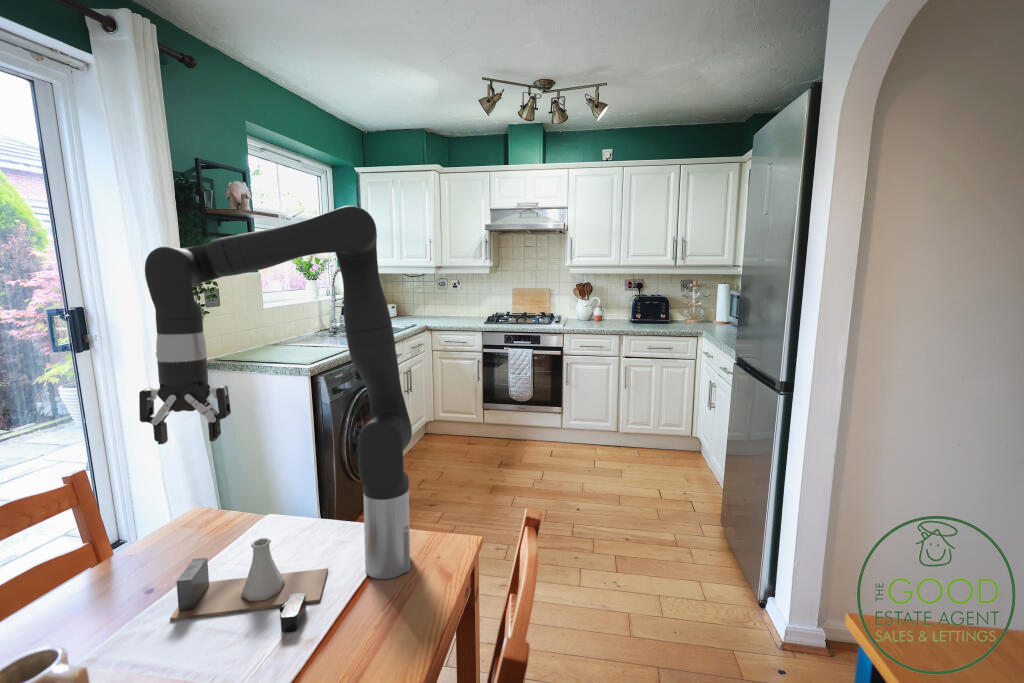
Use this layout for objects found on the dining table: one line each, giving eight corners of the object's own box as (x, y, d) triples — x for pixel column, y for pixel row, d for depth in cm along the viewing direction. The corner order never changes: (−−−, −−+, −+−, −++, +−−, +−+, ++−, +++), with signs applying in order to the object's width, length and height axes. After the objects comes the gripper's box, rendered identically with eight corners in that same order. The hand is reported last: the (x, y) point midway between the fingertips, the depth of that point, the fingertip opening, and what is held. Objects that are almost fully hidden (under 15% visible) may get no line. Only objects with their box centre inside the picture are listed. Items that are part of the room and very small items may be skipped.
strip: (328, 570, 98) (327, 541, 98) (319, 601, 89) (318, 569, 88) (194, 585, 93) (192, 555, 92) (170, 620, 83) (167, 587, 82)
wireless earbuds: (308, 605, 88) (307, 589, 88) (297, 633, 81) (296, 616, 81) (282, 608, 87) (281, 591, 87) (268, 636, 80) (267, 619, 80)
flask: (266, 605, 87) (264, 554, 86) (233, 599, 88) (229, 549, 87) (292, 581, 94) (290, 534, 93) (260, 576, 95) (258, 530, 94)
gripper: (232, 353, 92) (237, 433, 94) (149, 354, 89) (155, 437, 91) (217, 359, 85) (222, 445, 87) (126, 361, 81) (134, 451, 83)
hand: (188, 441), depth 89 cm, fingers open, 8 cm apart
